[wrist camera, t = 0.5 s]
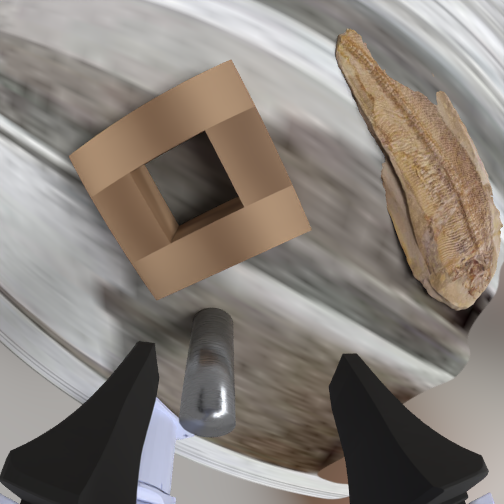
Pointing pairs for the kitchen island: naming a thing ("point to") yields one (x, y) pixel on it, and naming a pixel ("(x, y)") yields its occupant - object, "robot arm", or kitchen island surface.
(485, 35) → the kitchen island surface
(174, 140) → the walnut hole block
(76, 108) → the kitchen island surface
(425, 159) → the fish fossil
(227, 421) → the steel peg
